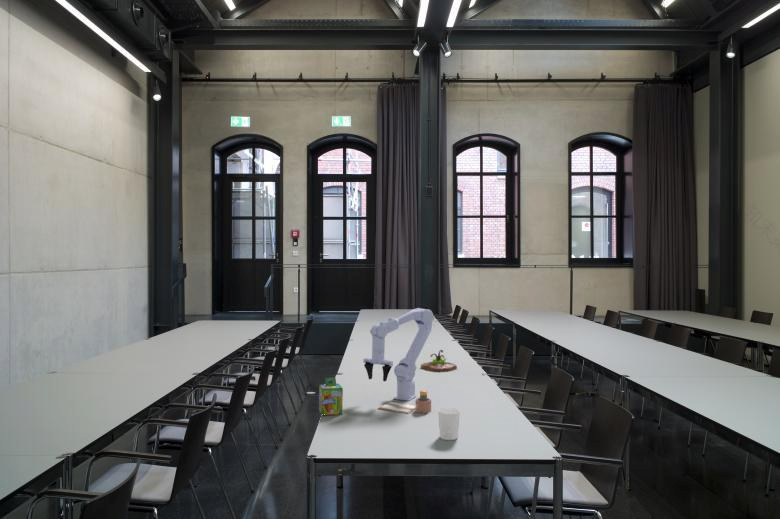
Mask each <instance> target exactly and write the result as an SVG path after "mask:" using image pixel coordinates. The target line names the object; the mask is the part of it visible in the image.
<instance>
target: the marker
mask: <svg viewBox="0 0 780 519" xmlns="http://www.w3.org/2000/svg"><path fill="white" fill-rule="evenodd" d="M419 398H420V401H427V398H428V391H427V390H420V391H419Z"/></svg>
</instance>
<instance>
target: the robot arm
mask: <svg viewBox="0 0 780 519" xmlns="http://www.w3.org/2000/svg"><path fill="white" fill-rule="evenodd" d="M434 319H435V316H434V314H433V311H432V310H431V309H428V308H427V309H425V308H420V307H417V308H416V307H415V308H414V309H411V310H410V311H408V312H407V313H404V314H402V315H400V316H398V317H397V318H395V317H391V316H389V317H388V319H387V320H385V321H380V322H379V324H377V323H376V324H373V325H372V326H371V329H370V330H369V332H370V334H371V337H372V339H371V340H372V344H371V345H372V347H371V358H370V357H369V358H368V357H365V358H363V359H362V360H363V364H364V368H365V370H366V373H367V376H368V380H372V379H373V372H374V371H373V369H374V366H375V365H381V366H382V367H381V368H382V373H383V376H382V381H383V382H387V379H388V376H389V373H390V372H391V369H392V367H394V366H393V365H394V361H391V360H387V359H385V342H386V340H385V339H386V337H387V335H388V334H390V333H392V332H394V331H396V330H397V329H399V328H400V326H401V325H403V324H406V323H409V322H411V321H413V320H414V321H415V323H416V325H417V327H418V331H417V333H416V335H415V336H414V339H413V340H412V343H411V344H410V347H409V349H408V351H407V353H406V355H405V357H404V358H402V359H401V360H400V361H399V362H398V364H396V365H395V367H394V369H393V372H394V376H396V396H394V397H393V400H399V401H400V400H401V401H411V400H412V399H414V398H416V397H417V394H416V384H415V382H416V381H415V379H414V377H415V375H416V370H417V364H416V362H417V360H418V358H419V356H420V354H421V353H422V350H423V348H424V346H425V343H426V342H427V340H428V338H429V336H430V334H431V332H432V325H433V321H434Z"/></svg>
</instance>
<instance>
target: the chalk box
mask: <svg viewBox="0 0 780 519" xmlns="http://www.w3.org/2000/svg"><path fill="white" fill-rule="evenodd" d="M330 381H331V383H329V382H330ZM324 382H325V383H322V384H321V383H320V384H319V385H318V386H319V388H318V391H319V392H318V411H319V413H320V414H321V416H322V414H323V416H324V417H325V416H338V415H339V416H341V415H343V395H344V394H343V392H344V390H343V389H344V388H343V387H342V385H340V383H337V380H336V377H326V378H325V379H324ZM324 414H325V415H324Z"/></svg>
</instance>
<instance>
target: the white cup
mask: <svg viewBox="0 0 780 519" xmlns="http://www.w3.org/2000/svg"><path fill="white" fill-rule="evenodd" d="M460 412H461V411H460V409H457V408H455V407H454V408H453V407H452V408H451V407H443V408H440V409H438V426H439V438H440V439H441V440H445V441H455V440H457V439H458V437H459V429H460Z"/></svg>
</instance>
